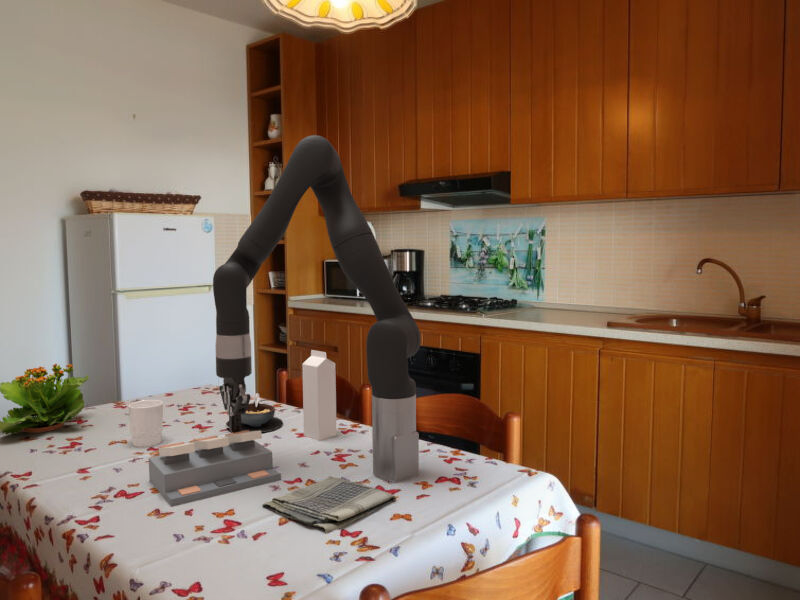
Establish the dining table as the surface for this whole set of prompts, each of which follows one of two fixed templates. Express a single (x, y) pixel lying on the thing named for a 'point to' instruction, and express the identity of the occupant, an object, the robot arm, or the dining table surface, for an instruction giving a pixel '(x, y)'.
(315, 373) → the milk
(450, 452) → the dining table surface
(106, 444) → the dining table surface
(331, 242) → the robot arm
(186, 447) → the rocker
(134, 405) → the white cup
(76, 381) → the potted flower
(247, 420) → the soup bowl
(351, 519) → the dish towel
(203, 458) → the switch unit
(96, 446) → the dining table surface
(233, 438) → the block
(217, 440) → the rocker
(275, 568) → the dining table surface
